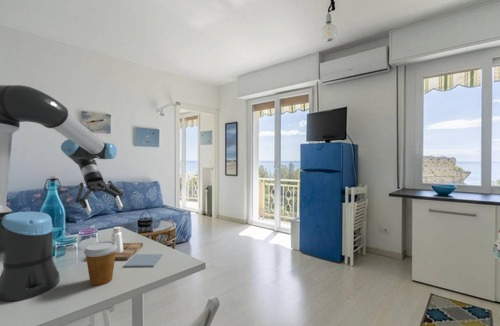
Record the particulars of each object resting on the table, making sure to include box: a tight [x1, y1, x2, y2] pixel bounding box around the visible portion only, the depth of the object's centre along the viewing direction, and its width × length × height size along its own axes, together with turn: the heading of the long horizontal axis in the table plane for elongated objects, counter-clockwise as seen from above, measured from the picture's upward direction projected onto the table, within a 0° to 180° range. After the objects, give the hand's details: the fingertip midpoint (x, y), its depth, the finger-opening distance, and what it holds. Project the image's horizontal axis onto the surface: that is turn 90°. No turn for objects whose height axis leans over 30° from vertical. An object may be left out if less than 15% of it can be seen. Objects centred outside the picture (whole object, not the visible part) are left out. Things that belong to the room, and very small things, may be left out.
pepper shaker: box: [110, 226, 124, 253], centre depth 108 cm, size 5×5×11 cm
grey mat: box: [123, 253, 163, 268], centre depth 100 cm, size 11×11×1 cm
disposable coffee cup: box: [83, 240, 117, 287], centre depth 84 cm, size 10×10×12 cm
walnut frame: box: [115, 242, 144, 261], centre depth 109 cm, size 16×16×2 cm
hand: (106, 210), depth 115 cm, fingers open, 13 cm apart
